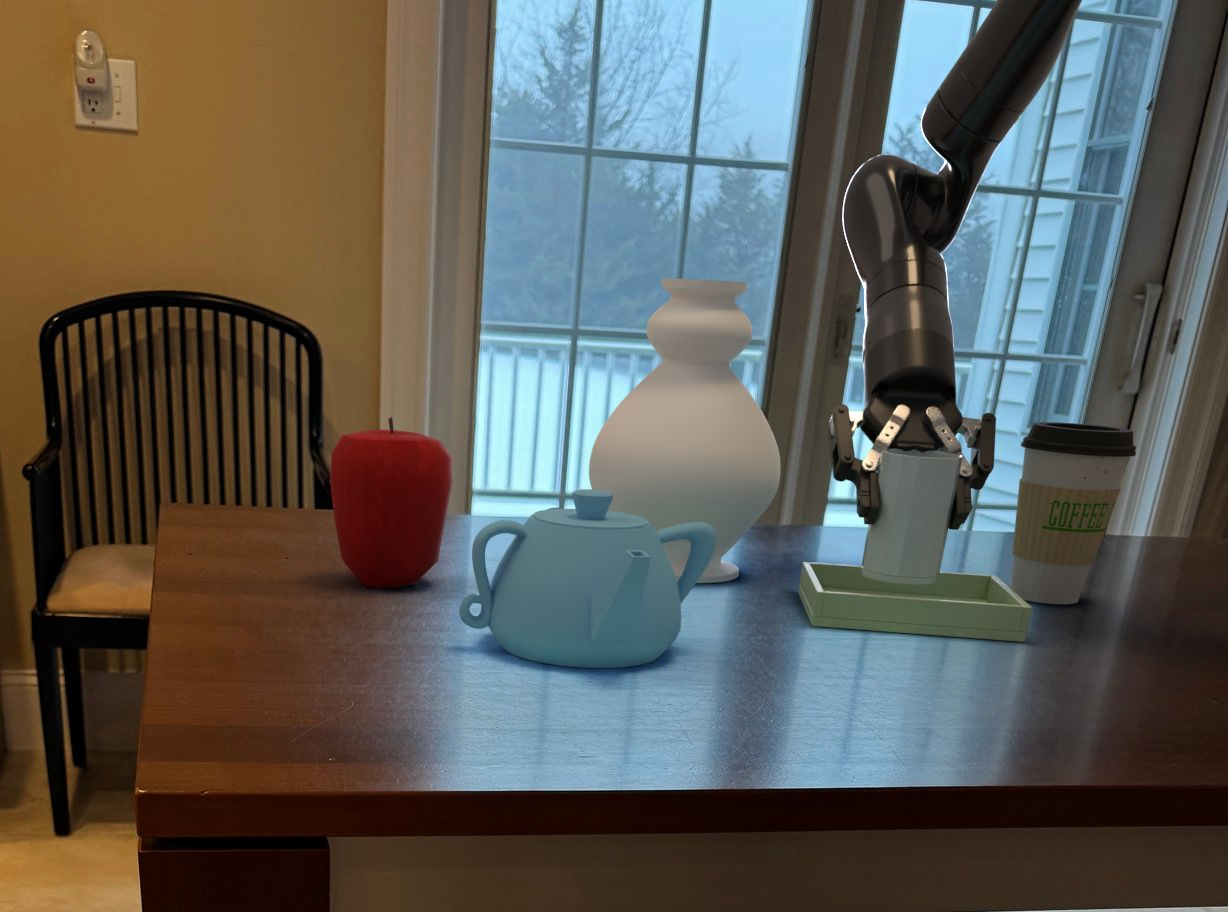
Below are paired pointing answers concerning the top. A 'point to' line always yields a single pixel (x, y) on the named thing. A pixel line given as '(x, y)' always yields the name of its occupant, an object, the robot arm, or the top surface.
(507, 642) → the teapot
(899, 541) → the container
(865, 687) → the top surface
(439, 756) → the top surface
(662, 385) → the decorative vase
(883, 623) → the tray
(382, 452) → the apple
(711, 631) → the top surface
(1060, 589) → the coffee cup
